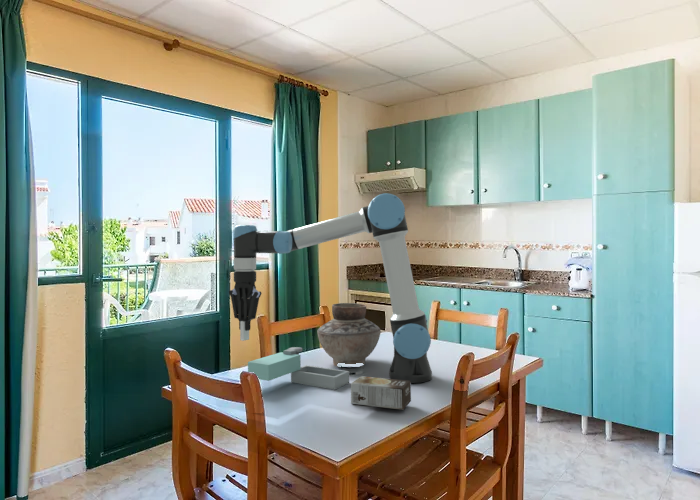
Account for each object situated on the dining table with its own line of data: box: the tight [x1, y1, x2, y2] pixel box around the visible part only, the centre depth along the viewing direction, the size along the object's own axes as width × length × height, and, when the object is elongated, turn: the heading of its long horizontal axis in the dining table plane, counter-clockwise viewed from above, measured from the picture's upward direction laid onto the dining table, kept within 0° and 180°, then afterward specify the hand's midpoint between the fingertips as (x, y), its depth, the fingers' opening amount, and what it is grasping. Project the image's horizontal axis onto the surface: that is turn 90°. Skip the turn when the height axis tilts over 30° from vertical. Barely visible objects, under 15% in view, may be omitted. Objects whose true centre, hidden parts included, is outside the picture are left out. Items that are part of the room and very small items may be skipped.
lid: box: [247, 346, 303, 382], centre depth 162 cm, size 22×9×6 cm, turn 149°
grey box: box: [290, 352, 350, 390], centre depth 165 cm, size 21×9×10 cm, turn 59°
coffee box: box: [350, 375, 412, 411], centre depth 142 cm, size 9×6×16 cm
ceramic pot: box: [317, 302, 382, 367], centre depth 189 cm, size 25×25×24 cm
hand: (244, 339), depth 163 cm, fingers closed
